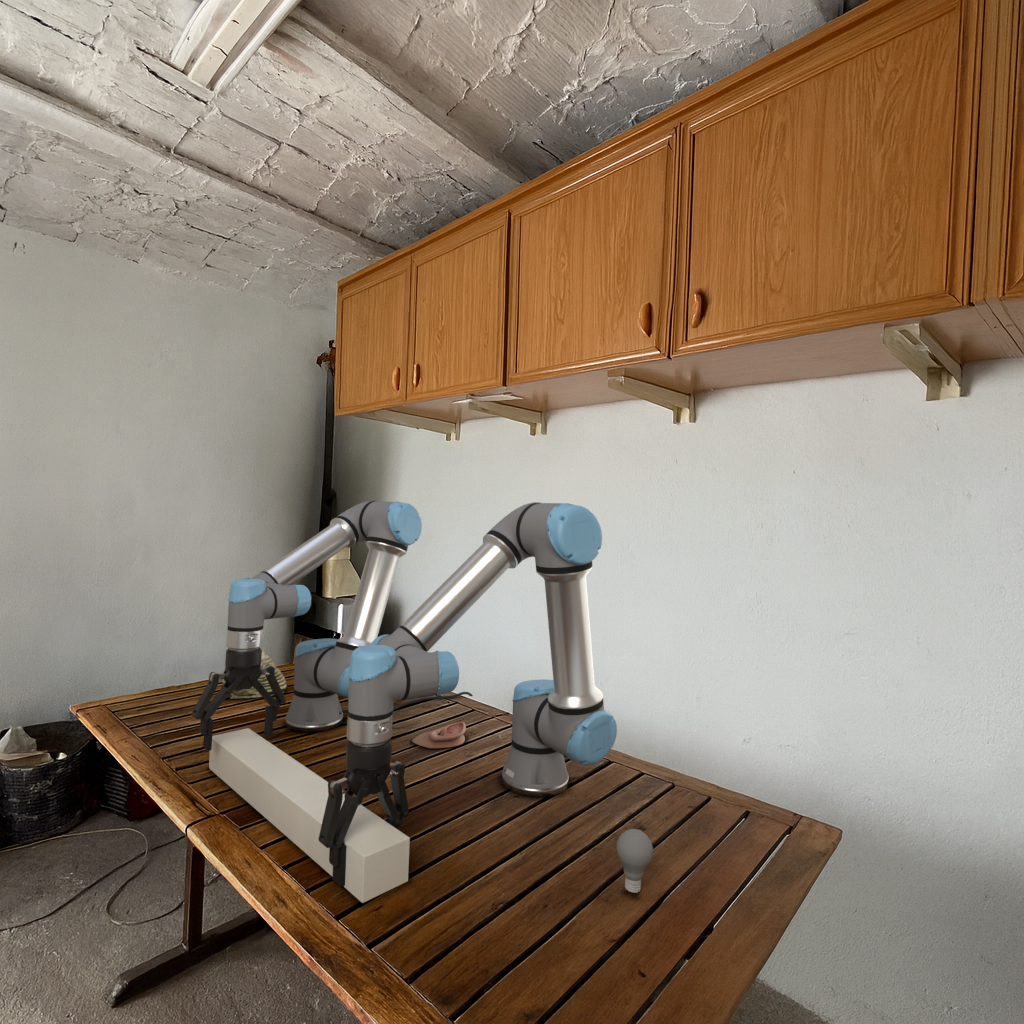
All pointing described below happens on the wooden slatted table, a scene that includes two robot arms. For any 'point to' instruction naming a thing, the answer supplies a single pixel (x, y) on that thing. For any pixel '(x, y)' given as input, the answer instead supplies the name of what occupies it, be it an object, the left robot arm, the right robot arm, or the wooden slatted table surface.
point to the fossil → (261, 681)
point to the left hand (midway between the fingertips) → (238, 742)
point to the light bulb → (634, 857)
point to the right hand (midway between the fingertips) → (363, 871)
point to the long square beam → (310, 812)
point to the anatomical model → (442, 736)
